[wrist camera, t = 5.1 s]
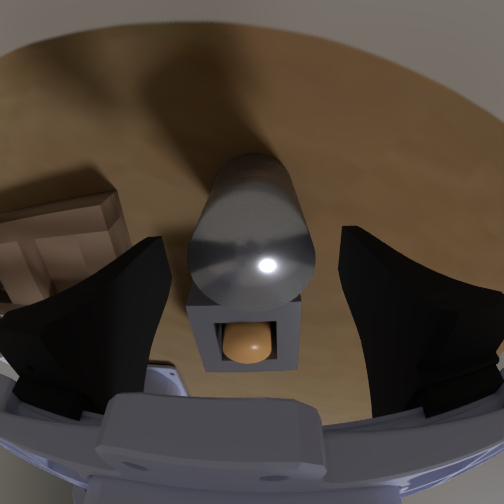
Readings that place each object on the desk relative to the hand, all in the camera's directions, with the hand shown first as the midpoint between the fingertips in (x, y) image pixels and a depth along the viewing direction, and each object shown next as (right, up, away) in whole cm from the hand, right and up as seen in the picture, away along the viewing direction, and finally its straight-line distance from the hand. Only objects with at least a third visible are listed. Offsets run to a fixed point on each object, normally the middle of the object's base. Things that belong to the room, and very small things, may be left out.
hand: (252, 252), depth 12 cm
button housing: (0, -4, +11) cm, 12 cm away
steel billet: (0, +4, +6) cm, 7 cm away
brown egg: (0, -5, +10) cm, 11 cm away
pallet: (-21, -1, +9) cm, 23 cm away
